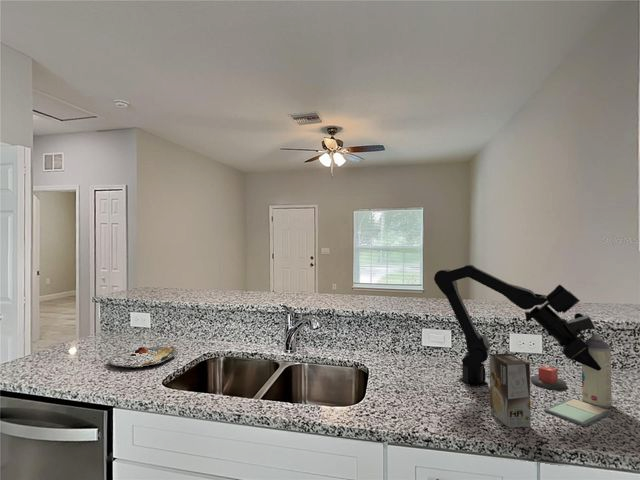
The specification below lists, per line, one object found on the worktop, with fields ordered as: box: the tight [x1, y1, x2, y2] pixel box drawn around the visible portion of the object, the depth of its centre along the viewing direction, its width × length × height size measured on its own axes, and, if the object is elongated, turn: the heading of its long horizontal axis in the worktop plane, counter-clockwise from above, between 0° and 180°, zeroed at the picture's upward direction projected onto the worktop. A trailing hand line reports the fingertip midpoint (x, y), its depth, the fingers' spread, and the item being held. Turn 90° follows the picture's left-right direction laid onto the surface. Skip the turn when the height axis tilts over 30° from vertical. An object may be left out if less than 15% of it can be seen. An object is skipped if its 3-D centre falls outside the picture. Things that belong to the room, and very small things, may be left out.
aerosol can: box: [581, 332, 613, 410], centre depth 108 cm, size 7×7×20 cm
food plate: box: [108, 346, 178, 368], centre depth 151 cm, size 25×23×4 cm
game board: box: [544, 398, 612, 428], centre depth 102 cm, size 14×10×1 cm
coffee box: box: [488, 353, 532, 429], centre depth 99 cm, size 9×6×16 cm
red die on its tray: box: [530, 365, 567, 391], centre depth 123 cm, size 10×10×5 cm
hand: (597, 365), depth 107 cm, fingers open, 9 cm apart
